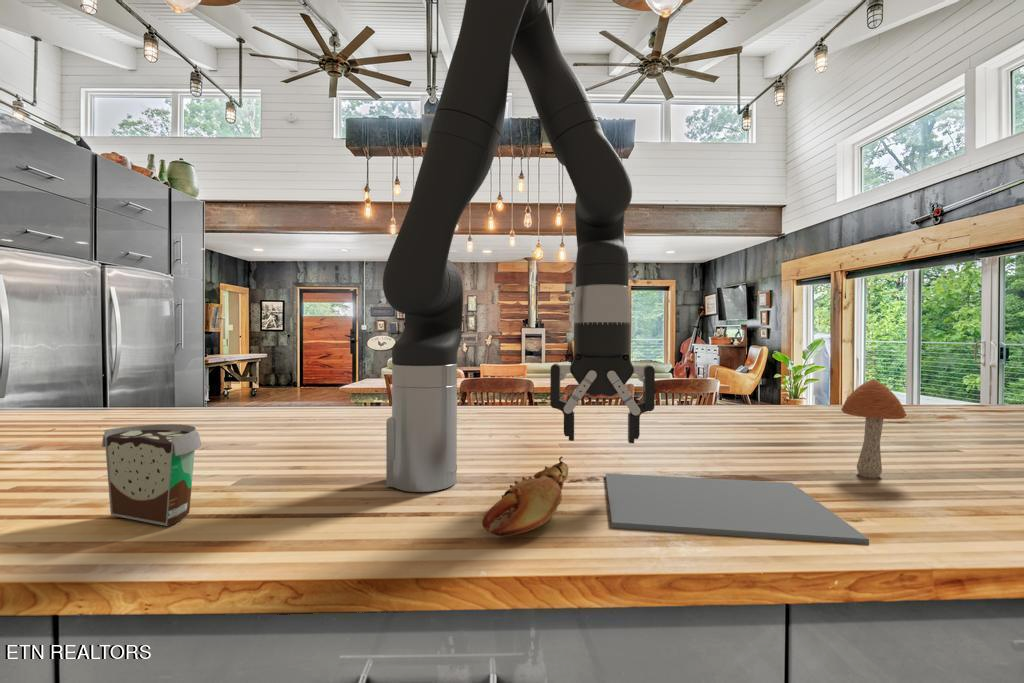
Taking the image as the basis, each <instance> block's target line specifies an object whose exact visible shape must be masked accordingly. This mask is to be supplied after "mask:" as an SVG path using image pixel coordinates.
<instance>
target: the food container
mask: <svg viewBox="0 0 1024 683" xmlns="http://www.w3.org/2000/svg"><path fill="white" fill-rule="evenodd" d="M103 433H104V434H102V439H101V440H102V442H101V447H102V448H105V459H106V461H105V462H106V470H107V471H106V472H107V473H106V474H107V483H108V497H109V510H110V516H113V517H118V518H125V519H129V520H134V521H140V522H143V523H144V522H145V523H151V524H155V525H160V526H166V527H168V526H170V525H173V524H175V523H177V522H180V521H181V520H183V519H184V518H186V517H187V516H188V514H189V513H190V508H191V498H192V489H193V488H192V486H193V476H194V475H193V473H194V465H195V464H194V462H195V452H196V450H198V449H199V448H201V447H202V441H201V436H200V432H198V431H197V428H196V427H195V426H194V425H189V424H179V423H178V424H176V423H171V424H170V423H165V424H163V423H162V424H145V425H144V424H143V425H132V426H131V425H129V426H125V427H124V426H122V427H115V428H109V429H104V432H103Z"/></svg>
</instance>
